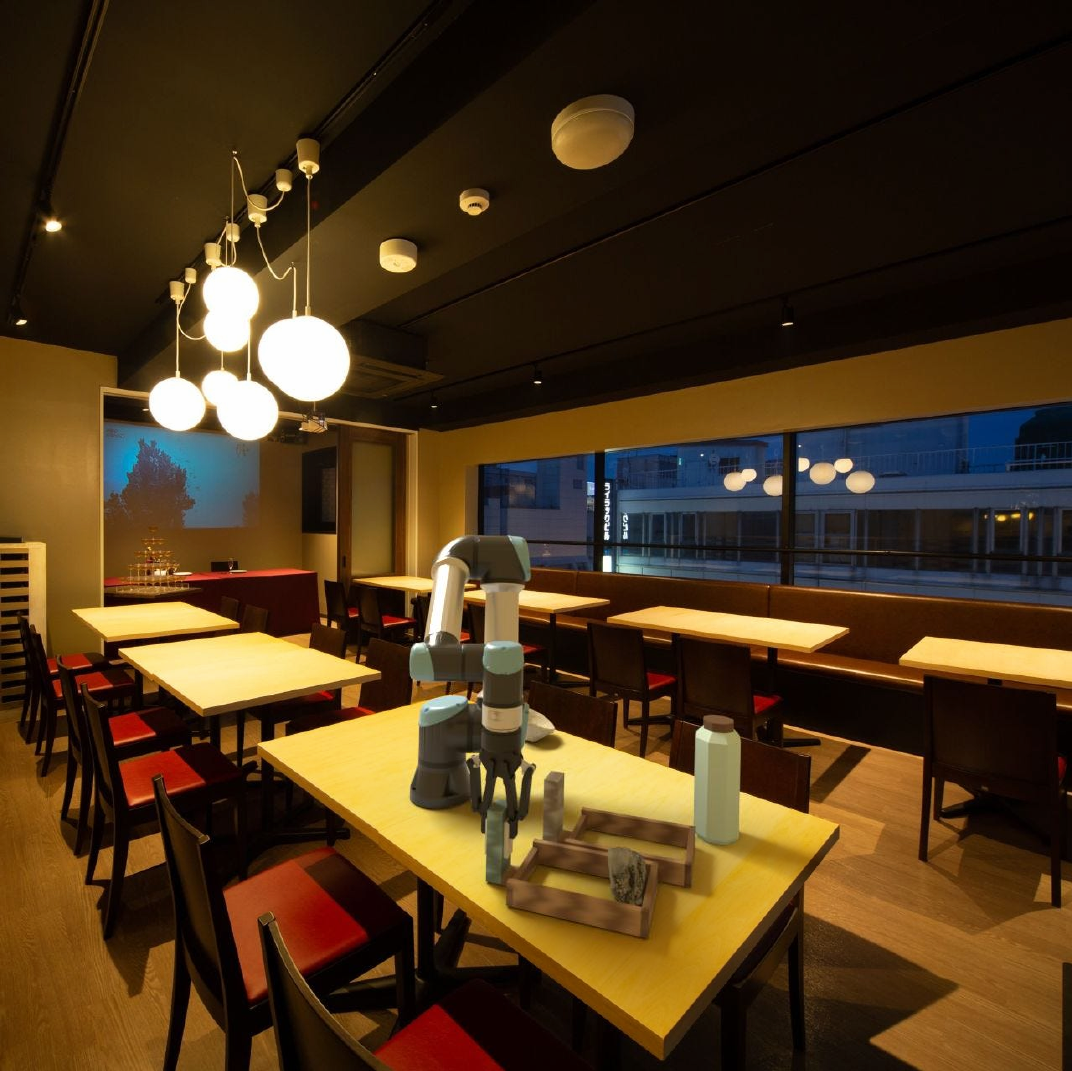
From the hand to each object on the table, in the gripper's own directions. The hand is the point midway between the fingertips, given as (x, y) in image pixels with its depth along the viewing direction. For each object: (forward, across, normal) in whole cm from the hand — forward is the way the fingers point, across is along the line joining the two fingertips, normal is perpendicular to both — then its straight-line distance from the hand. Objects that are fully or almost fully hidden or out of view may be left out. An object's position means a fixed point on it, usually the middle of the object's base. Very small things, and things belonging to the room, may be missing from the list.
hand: (498, 852), depth 107 cm
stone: (+5, +24, +1) cm, 24 cm away
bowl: (+5, -16, +73) cm, 75 cm away
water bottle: (+5, +39, +30) cm, 49 cm away
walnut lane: (+4, +14, 0) cm, 14 cm away
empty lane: (+4, +19, +16) cm, 26 cm away
